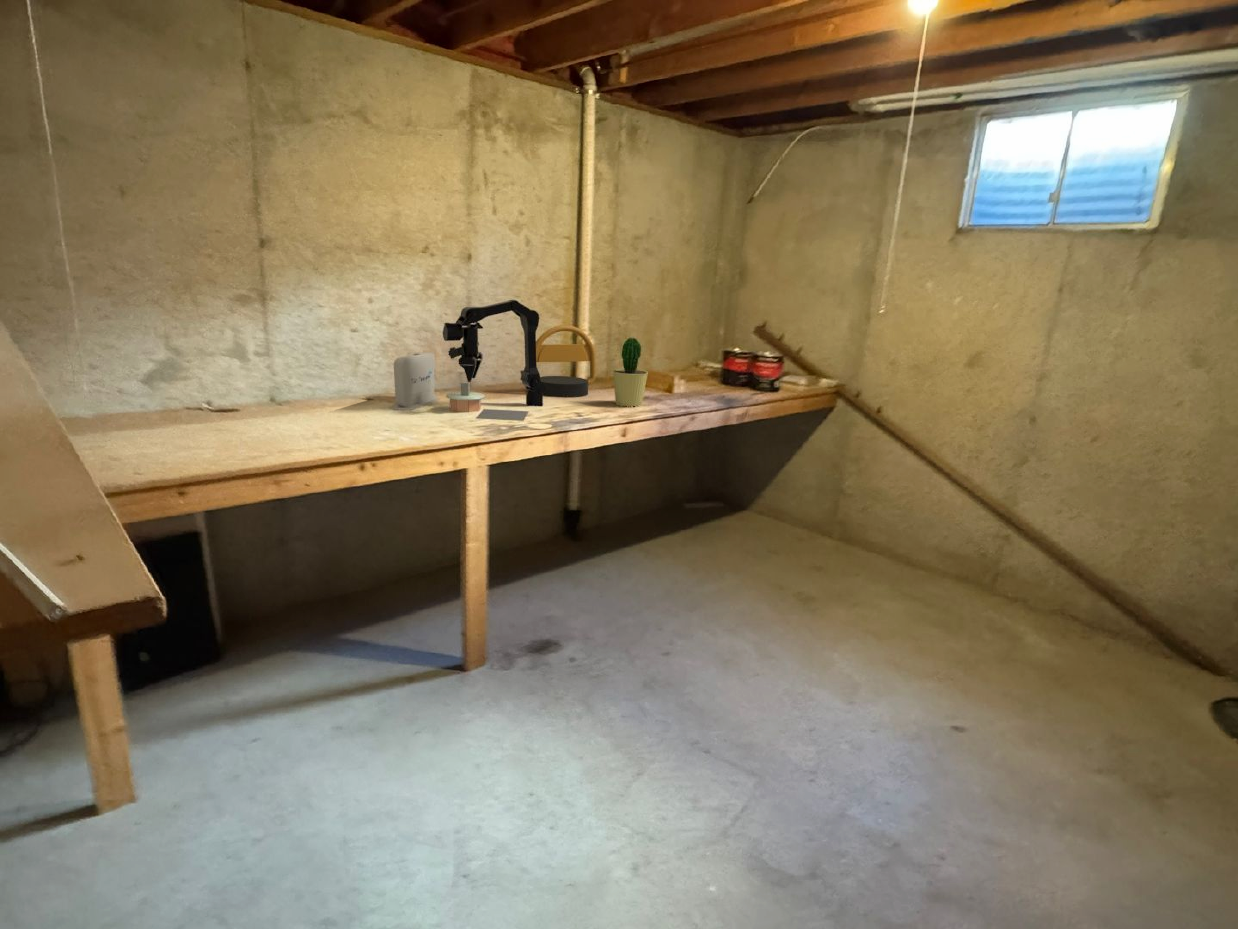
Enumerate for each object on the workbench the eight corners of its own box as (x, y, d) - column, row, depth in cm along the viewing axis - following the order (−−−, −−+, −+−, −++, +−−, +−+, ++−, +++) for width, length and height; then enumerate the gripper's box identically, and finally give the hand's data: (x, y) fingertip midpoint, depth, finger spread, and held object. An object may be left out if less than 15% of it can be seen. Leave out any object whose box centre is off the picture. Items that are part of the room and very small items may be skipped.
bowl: (482, 408, 279) (482, 394, 277) (477, 413, 268) (477, 399, 266) (454, 406, 279) (454, 393, 277) (447, 412, 268) (447, 398, 266)
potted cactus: (627, 409, 294) (631, 338, 286) (604, 403, 305) (607, 334, 297) (653, 406, 304) (657, 337, 295) (629, 400, 315) (633, 334, 306)
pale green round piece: (487, 394, 279) (487, 380, 278) (481, 401, 265) (481, 386, 263) (450, 392, 279) (450, 378, 277) (441, 399, 264) (441, 384, 263)
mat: (528, 412, 276) (528, 411, 276) (523, 421, 259) (523, 420, 258) (483, 410, 275) (483, 408, 275) (475, 419, 258) (475, 418, 258)
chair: (606, 395, 323) (610, 327, 315) (539, 399, 305) (541, 327, 297) (581, 387, 344) (584, 322, 335) (516, 389, 325) (517, 322, 317)
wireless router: (408, 411, 266) (406, 359, 260) (384, 409, 267) (382, 357, 262) (444, 398, 295) (443, 351, 290) (422, 396, 297) (421, 349, 292)
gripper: (454, 337, 277) (455, 375, 281) (444, 342, 259) (445, 383, 263) (482, 338, 277) (483, 376, 281) (474, 343, 259) (475, 384, 263)
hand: (471, 379), depth 272 cm, fingers open, 9 cm apart
